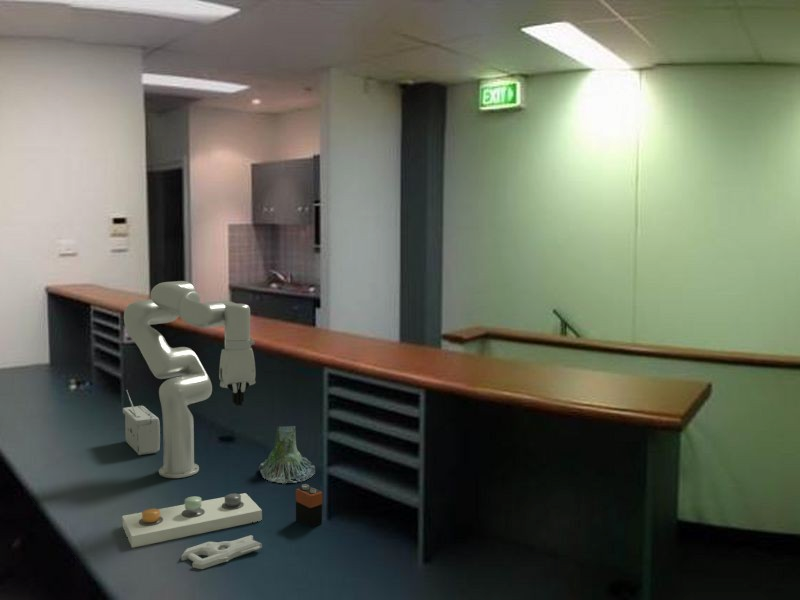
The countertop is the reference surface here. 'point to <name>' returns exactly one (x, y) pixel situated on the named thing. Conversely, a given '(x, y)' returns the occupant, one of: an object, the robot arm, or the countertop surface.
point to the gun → (219, 551)
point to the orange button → (150, 515)
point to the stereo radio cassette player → (142, 429)
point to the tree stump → (286, 460)
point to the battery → (308, 506)
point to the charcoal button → (232, 500)
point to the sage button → (193, 503)
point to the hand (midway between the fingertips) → (237, 404)
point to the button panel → (190, 520)
